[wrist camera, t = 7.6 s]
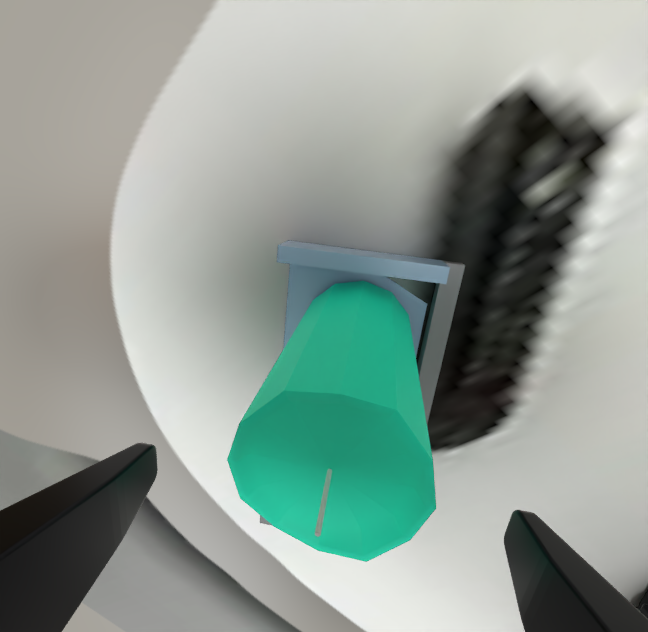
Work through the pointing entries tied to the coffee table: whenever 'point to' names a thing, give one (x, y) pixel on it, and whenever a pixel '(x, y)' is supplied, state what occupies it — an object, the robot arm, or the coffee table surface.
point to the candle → (341, 429)
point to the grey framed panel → (360, 265)
